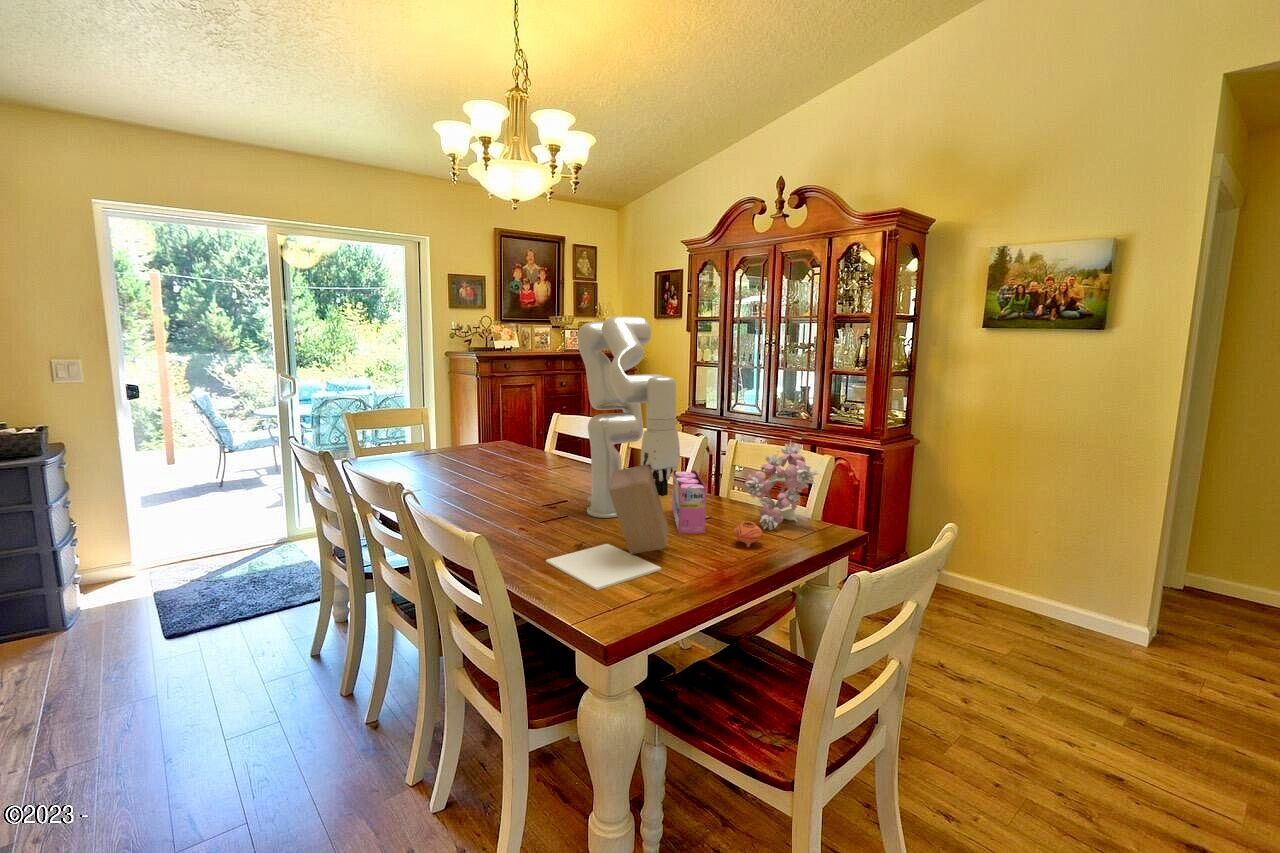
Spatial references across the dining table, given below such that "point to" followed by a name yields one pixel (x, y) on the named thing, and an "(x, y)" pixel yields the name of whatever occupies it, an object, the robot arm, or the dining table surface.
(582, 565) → the pale grey mat
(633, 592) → the dining table surface
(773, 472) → the flower
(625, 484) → the wooden block
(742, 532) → the pot
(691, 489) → the gum box
